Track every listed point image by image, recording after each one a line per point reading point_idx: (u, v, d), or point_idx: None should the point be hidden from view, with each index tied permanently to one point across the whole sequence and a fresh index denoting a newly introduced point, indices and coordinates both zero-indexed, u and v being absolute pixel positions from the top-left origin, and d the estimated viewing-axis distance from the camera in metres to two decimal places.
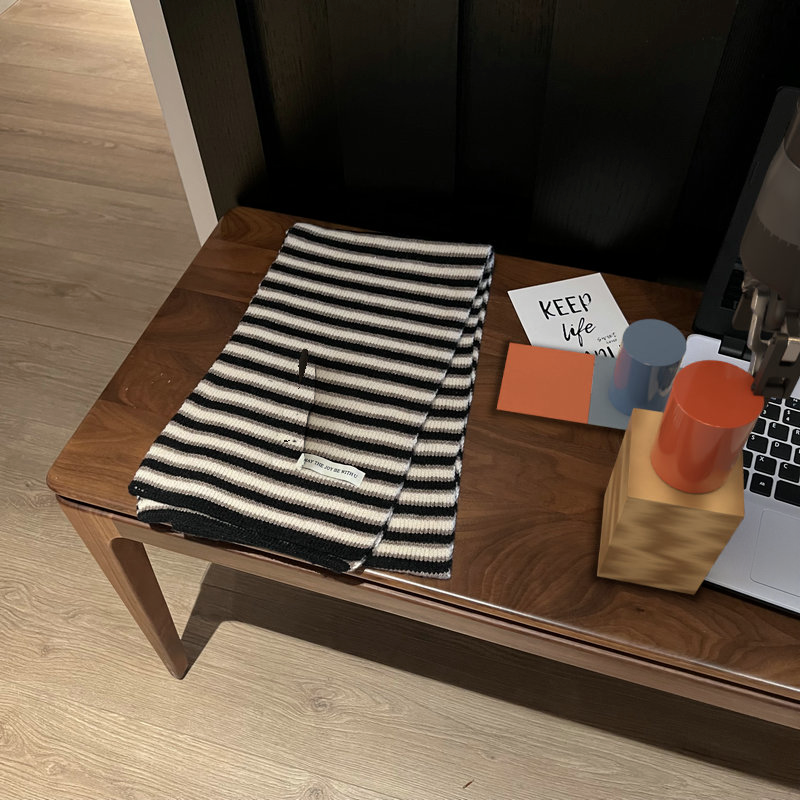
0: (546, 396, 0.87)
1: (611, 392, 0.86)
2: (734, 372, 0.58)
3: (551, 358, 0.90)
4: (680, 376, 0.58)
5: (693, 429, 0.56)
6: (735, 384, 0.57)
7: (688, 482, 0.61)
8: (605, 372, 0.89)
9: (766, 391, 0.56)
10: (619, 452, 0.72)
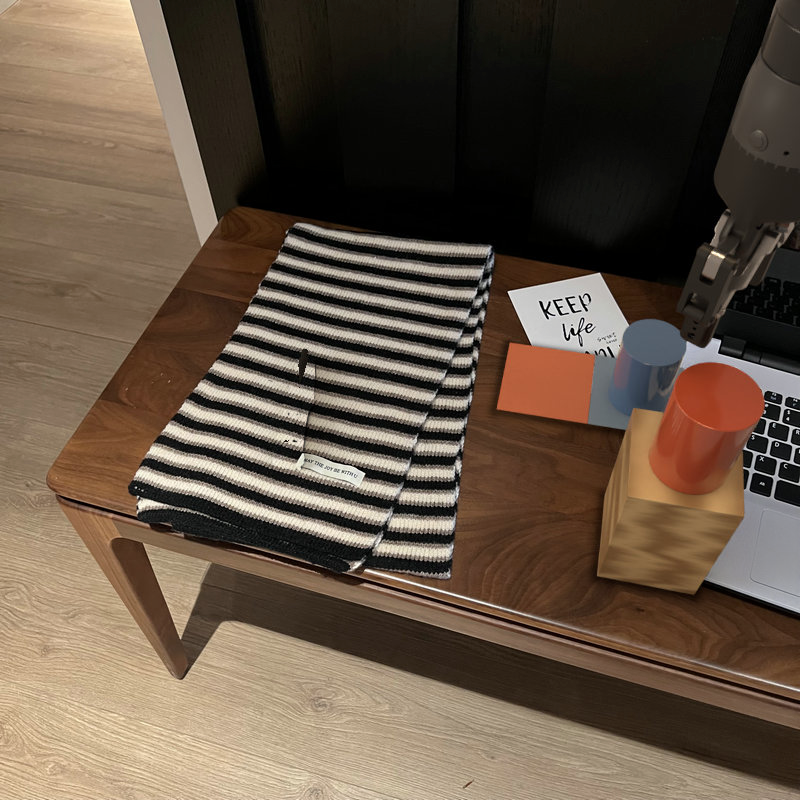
0: (546, 396, 0.87)
1: (611, 392, 0.86)
2: (736, 375, 0.58)
3: (551, 358, 0.90)
4: (681, 378, 0.58)
5: (693, 432, 0.56)
6: (736, 387, 0.57)
7: (686, 483, 0.61)
8: (605, 372, 0.89)
9: (687, 310, 0.54)
10: (619, 452, 0.72)
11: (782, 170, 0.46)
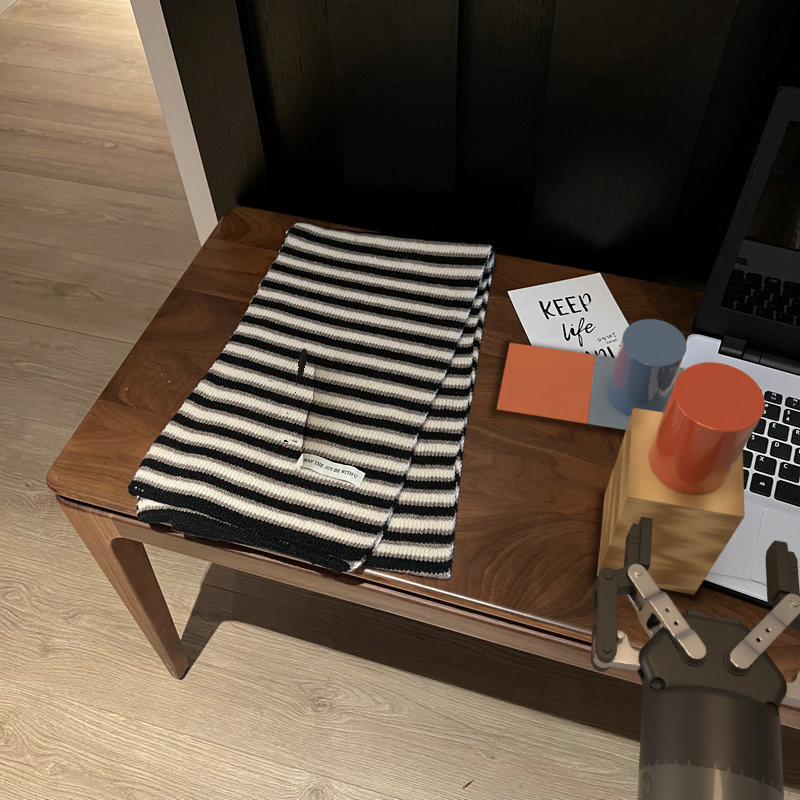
0: (546, 396, 0.87)
1: (611, 392, 0.86)
2: (736, 375, 0.58)
3: (551, 358, 0.90)
4: (681, 378, 0.58)
5: (693, 432, 0.56)
6: (736, 387, 0.57)
7: (686, 483, 0.61)
8: (605, 372, 0.89)
9: (597, 583, 0.50)
10: (619, 452, 0.72)
11: None
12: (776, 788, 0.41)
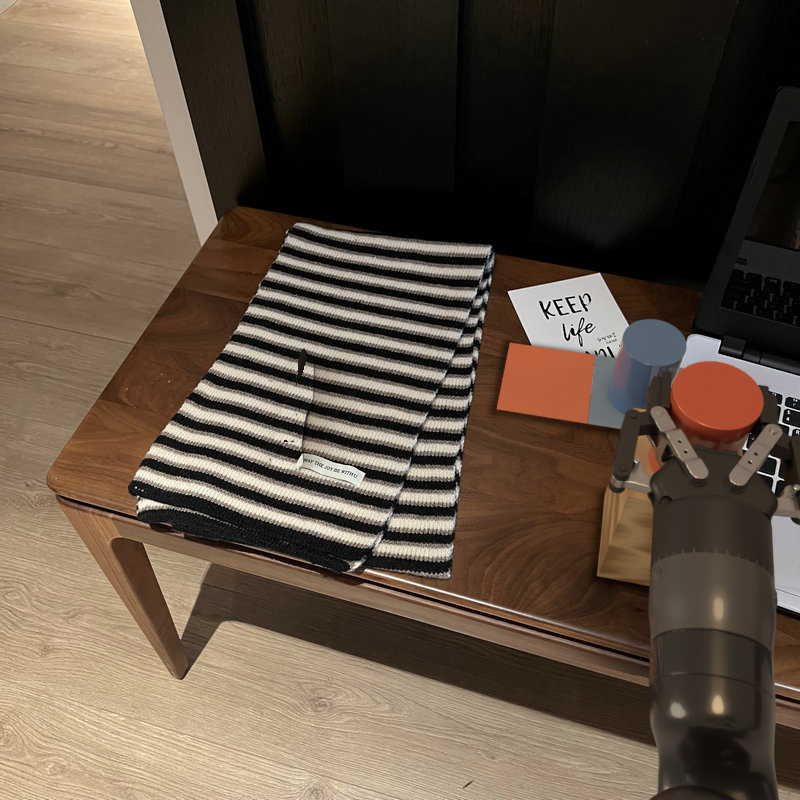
0: (546, 396, 0.87)
1: (611, 392, 0.86)
2: (734, 374, 0.58)
3: (551, 358, 0.90)
4: (680, 377, 0.58)
5: (692, 431, 0.56)
6: (735, 385, 0.57)
7: None
8: (605, 372, 0.89)
9: None
10: None
11: None
12: (768, 571, 0.48)
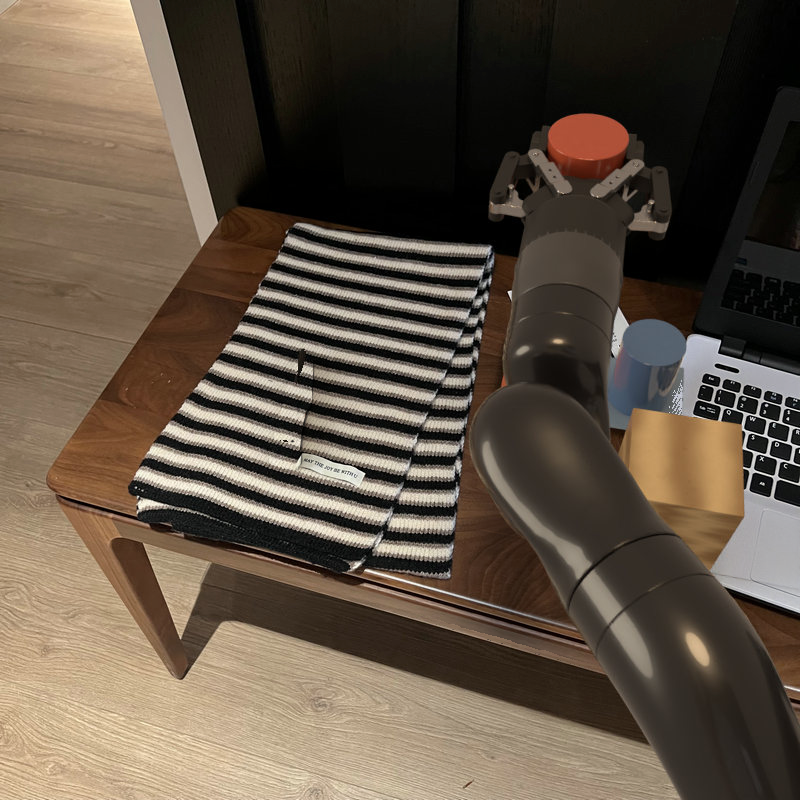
0: None
1: (611, 392, 0.86)
2: (605, 121, 0.64)
3: None
4: (556, 125, 0.64)
5: (564, 167, 0.62)
6: (604, 129, 0.63)
7: None
8: None
9: None
10: (619, 452, 0.72)
11: None
12: (613, 249, 0.54)
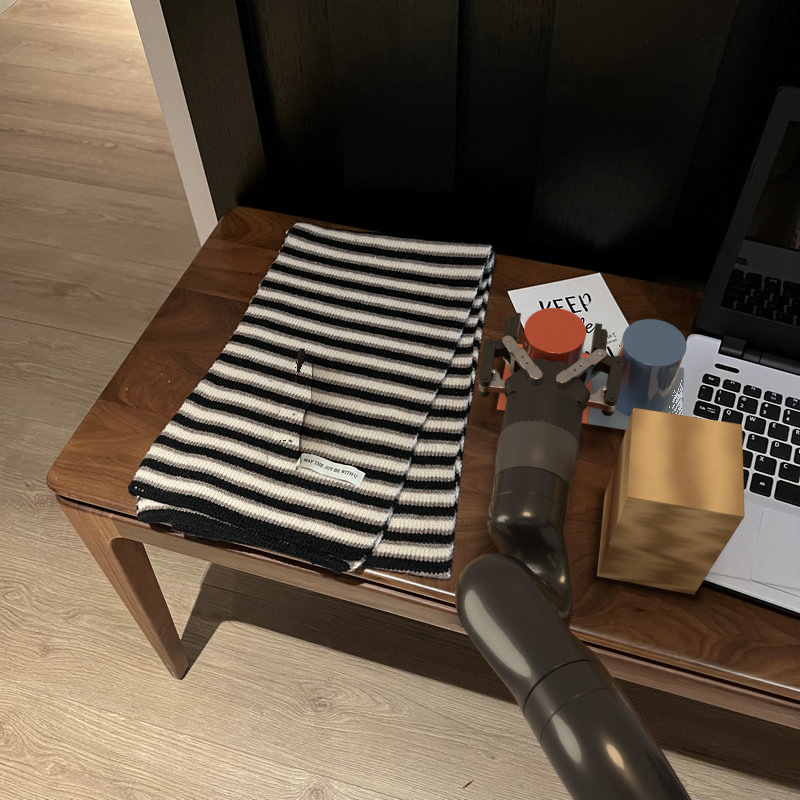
0: None
1: None
2: (568, 316, 0.82)
3: None
4: (530, 319, 0.82)
5: (537, 355, 0.81)
6: (568, 324, 0.82)
7: None
8: None
9: None
10: (619, 452, 0.72)
11: None
12: (570, 433, 0.72)
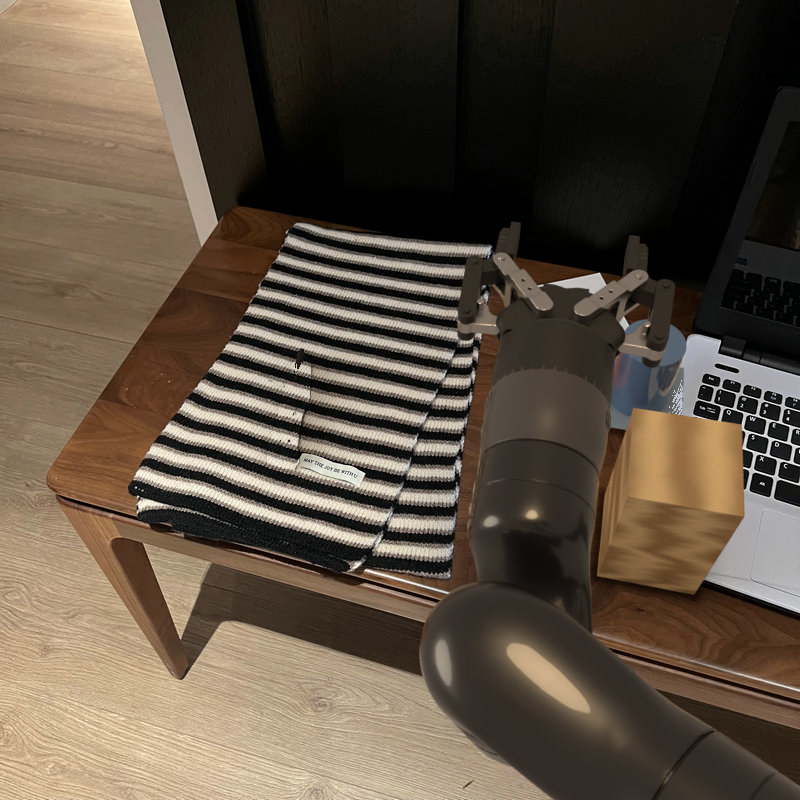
0: None
1: None
2: None
3: None
4: None
5: None
6: None
7: None
8: None
9: None
10: (619, 452, 0.72)
11: None
12: (599, 389, 0.46)
